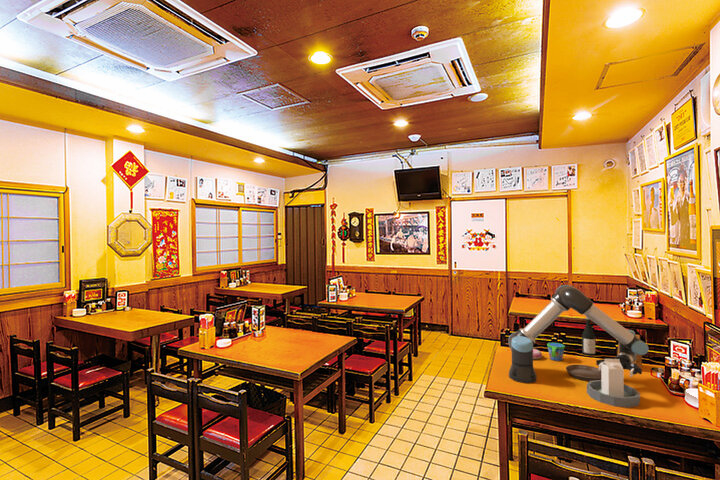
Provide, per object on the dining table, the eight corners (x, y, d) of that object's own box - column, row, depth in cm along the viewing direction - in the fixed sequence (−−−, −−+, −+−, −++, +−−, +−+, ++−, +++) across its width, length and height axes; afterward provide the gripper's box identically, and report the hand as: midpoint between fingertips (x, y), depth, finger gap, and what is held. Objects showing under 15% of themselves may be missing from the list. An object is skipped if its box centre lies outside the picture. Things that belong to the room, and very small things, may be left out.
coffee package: (623, 362, 236) (623, 329, 235) (645, 369, 224) (644, 334, 224) (614, 365, 232) (613, 331, 231) (635, 371, 220) (635, 336, 220)
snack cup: (551, 354, 253) (551, 340, 253) (568, 358, 246) (568, 343, 246) (543, 360, 243) (543, 345, 242) (560, 364, 235) (560, 348, 235)
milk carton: (601, 391, 191) (601, 356, 190) (616, 392, 190) (615, 356, 189) (608, 397, 184) (608, 361, 183) (623, 398, 183) (623, 361, 182)
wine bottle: (596, 356, 249) (596, 313, 249) (583, 355, 252) (583, 312, 252) (593, 352, 257) (593, 311, 257) (581, 351, 260) (580, 310, 259)
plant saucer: (590, 385, 202) (590, 379, 202) (558, 372, 221) (558, 367, 221) (614, 379, 210) (614, 373, 210) (581, 367, 229) (581, 362, 229)
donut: (544, 361, 242) (544, 353, 242) (523, 360, 244) (523, 352, 244) (538, 354, 255) (538, 347, 255) (518, 353, 258) (518, 346, 257)
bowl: (596, 404, 179) (595, 395, 179) (582, 386, 200) (581, 378, 200) (647, 409, 173) (647, 400, 173) (627, 390, 194) (627, 382, 194)
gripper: (651, 373, 193) (644, 384, 179) (597, 362, 212) (587, 371, 197) (651, 359, 193) (644, 369, 179) (597, 349, 212) (587, 358, 197)
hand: (614, 370), depth 188 cm, fingers open, 13 cm apart
